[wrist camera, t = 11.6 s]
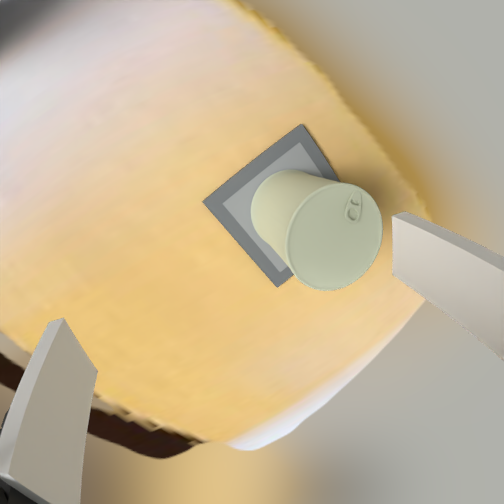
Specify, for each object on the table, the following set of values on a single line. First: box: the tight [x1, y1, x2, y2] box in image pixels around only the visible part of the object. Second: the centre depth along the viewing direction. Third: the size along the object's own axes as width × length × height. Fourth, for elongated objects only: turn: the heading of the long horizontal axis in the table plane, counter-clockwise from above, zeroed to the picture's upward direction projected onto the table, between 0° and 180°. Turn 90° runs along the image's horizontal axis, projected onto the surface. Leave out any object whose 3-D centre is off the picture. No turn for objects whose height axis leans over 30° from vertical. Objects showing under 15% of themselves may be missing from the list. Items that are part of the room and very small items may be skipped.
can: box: [251, 170, 383, 291], centre depth 28 cm, size 9×9×12 cm
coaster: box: [202, 124, 340, 288], centre depth 34 cm, size 14×14×1 cm
